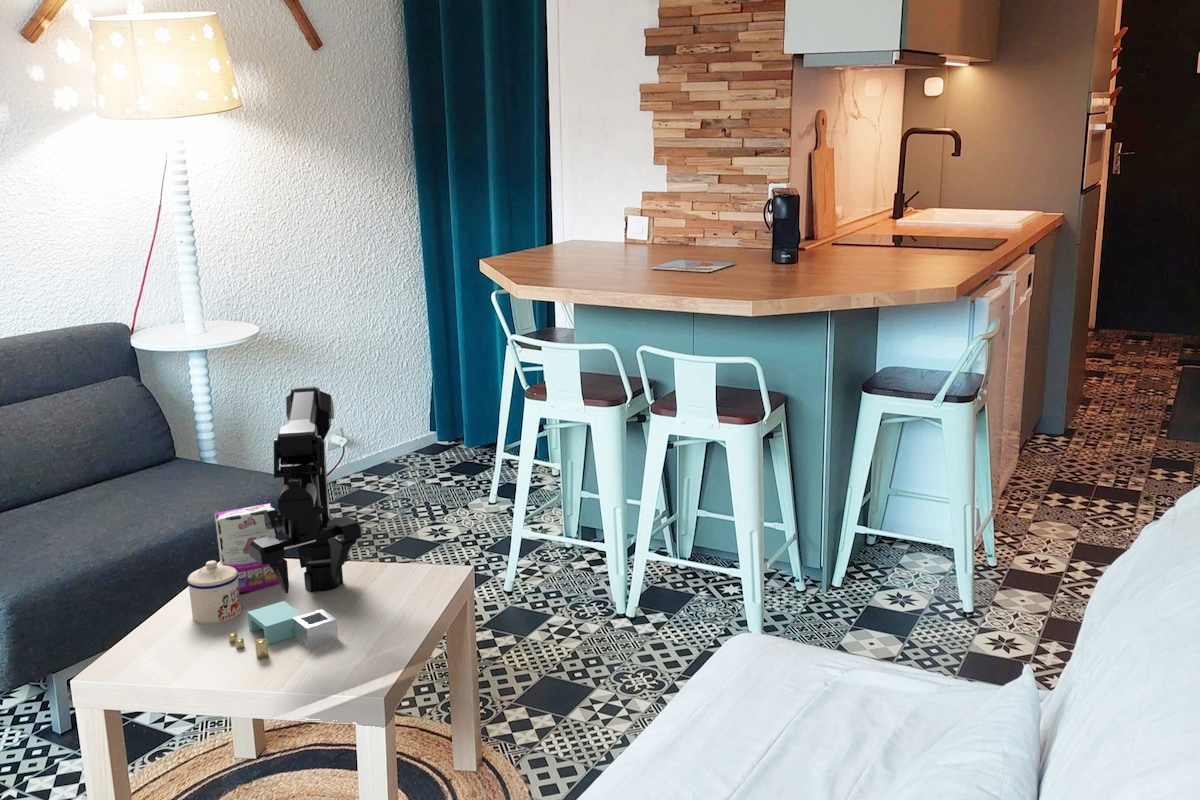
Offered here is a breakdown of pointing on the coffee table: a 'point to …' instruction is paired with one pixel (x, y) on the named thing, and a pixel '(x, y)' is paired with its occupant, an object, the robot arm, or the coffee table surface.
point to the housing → (274, 621)
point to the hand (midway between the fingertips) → (310, 585)
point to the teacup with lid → (214, 593)
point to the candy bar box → (245, 545)
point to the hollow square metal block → (315, 628)
